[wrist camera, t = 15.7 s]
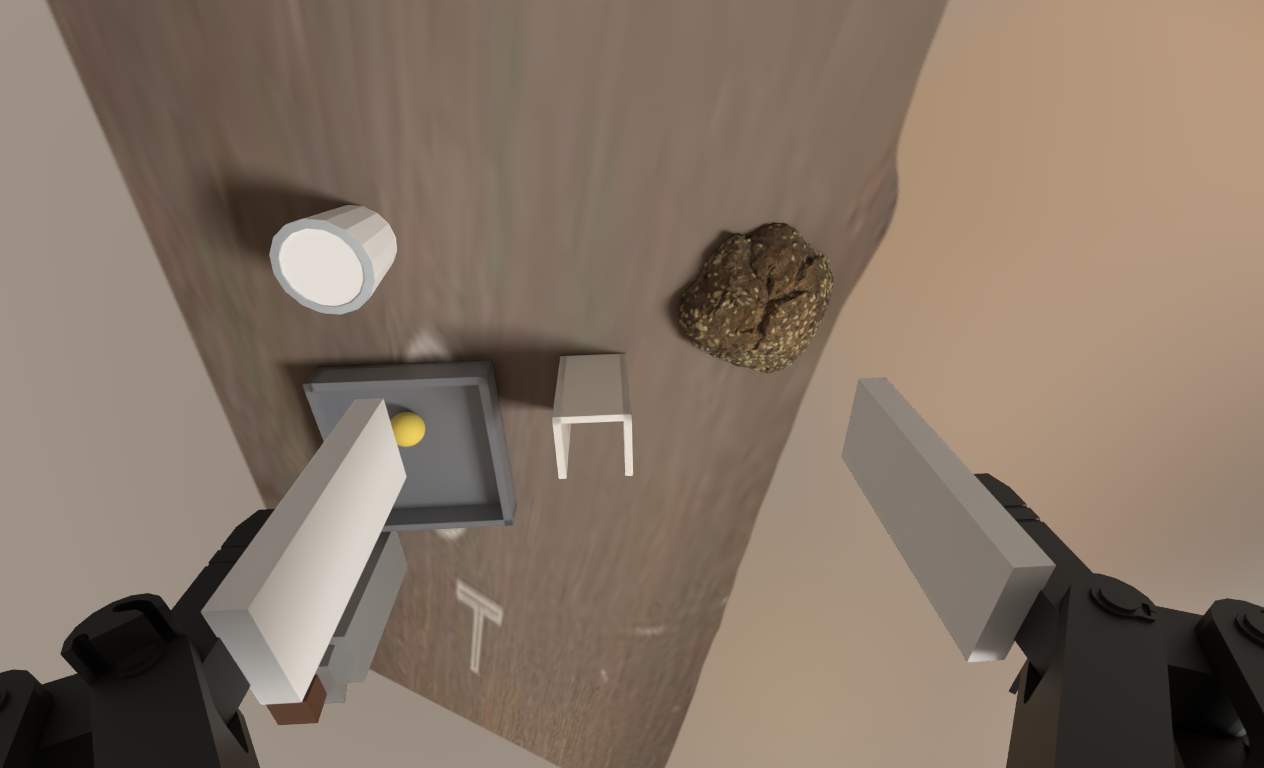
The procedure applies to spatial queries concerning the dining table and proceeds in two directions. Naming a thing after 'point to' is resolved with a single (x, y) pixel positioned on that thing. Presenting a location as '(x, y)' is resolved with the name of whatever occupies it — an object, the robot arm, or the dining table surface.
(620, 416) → the white u-shaped stool
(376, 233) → the shot glass
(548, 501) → the dining table surface
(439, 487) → the tray
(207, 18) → the dining table surface
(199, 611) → the robot arm
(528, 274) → the dining table surface
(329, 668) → the perfume bottle
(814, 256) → the bread roll
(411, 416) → the ball
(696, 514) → the dining table surface
